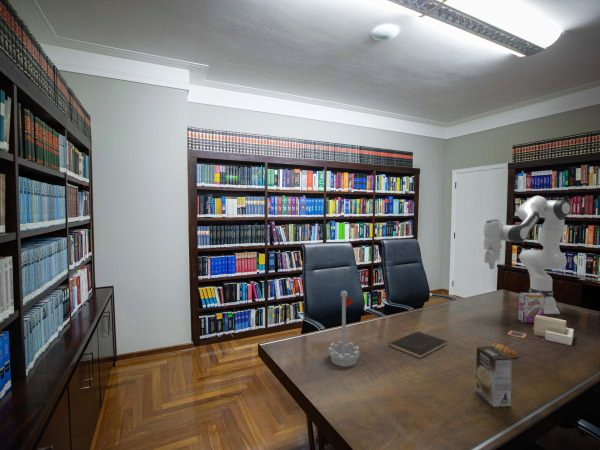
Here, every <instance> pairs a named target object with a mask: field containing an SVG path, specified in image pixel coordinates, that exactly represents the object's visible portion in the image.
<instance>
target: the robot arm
mask: <svg viewBox="0 0 600 450" xmlns="http://www.w3.org/2000/svg"><path fill="white" fill-rule="evenodd" d="M571 208H572V207H571V205H570V203H569V202H568V201H566V200H563V199H558V200H554V199H552V200H550V199H549V200H548V199H546V198H545V197H543V196H542V195H541V196H540V195H534V196H532V197H531V198H528V199H527V200H526V201H524V202H523V203H522V204H521V205H520V206H519V207H518V208H517V210H516V213H517V214H516V215H517V217H518V218H519V219H520V220H521V221H523V222H521V224H517V225H511V224H504V223H503V222H501V220H499V219H489V220H486V221H485V222H484V227H483V235H484V239H483V249H484V250H485V251H484V263H486V264H489V270H494V269H495V265H496V264H495V263H496V262H497V261H499V260H500V256H501V250H502V241H504V242H512V243H513V242H514V243H519V244H520V243H522V242H524V241H526V239H527V238H528V235H529V234H530V232H531V231H532V230H533V228H534V227H535V226H536V224H537V223H538V222H539V220H540V218H543V219H544V222H543V223H542V226H541V228H540V231H539V233H538V236H537V242H538V243H539V244H540V245H541V246H542V247H543V248H542V250H539V249H538V250H537V249H524V250H522V251H521V252H520V254H519V261H520V263H521V264H522V265H523V266H525V267H526V269H527V271H528V274H529V280H530V282H529V283H530V285H529V286H530V287H529V289H528V293H539V294H542V295H545V300H544V315H560V314H561V313H560V311H559V309H558V306H557V304H556V299H555V298H554V297H553V296H554V290H553V278H552V276H551V275H549V274H548V273H547V272H546V271H545V269H548V270H562V269H564V268H565V267H566V266H567V262H568V261H567V258H566V256H565V255H564V254H563V252H561V249H560V243H561V239H562V235H563V234H564V233H563V232H564V229H565V219H566V218H567V216H568V215H569V214H570V212H571Z"/></svg>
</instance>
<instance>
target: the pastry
mask: <svg viewBox="0 0 600 450" xmlns="http://www.w3.org/2000/svg"><path fill="white" fill-rule="evenodd" d="M491 346H494V347H495V348H497V349H498V350H500V351H501V352H503V353H504V354H506V355H508V356H509V357H511V358H512V359H516V358H517V357H518V352H517V351H516V350H514V349H512V348H510V347H508V346H506V345H505V344H501V343H497V342H494V343H493V344H492V345H491Z"/></svg>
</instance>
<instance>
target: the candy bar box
mask: <svg viewBox="0 0 600 450" xmlns="http://www.w3.org/2000/svg"><path fill="white" fill-rule="evenodd" d="M518 296H519V297H518V317H517V318H518V321H520V322H521V323H526V324H527V323H528V324H529V323H530V324H531V323H532V324H534V318H535V316H536V315H539V316H545V314H544V300H545V295H542V294H539V293H529V292H519V295H518Z"/></svg>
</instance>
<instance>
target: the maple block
mask: <svg viewBox="0 0 600 450" xmlns="http://www.w3.org/2000/svg"><path fill="white" fill-rule="evenodd" d="M533 324H534V325H533V327H534V329H533V335H534V336H538V337H543V338H545V334H546V331H550V332H554V333H559V334H564V335H566V328H567V320H564V319H560V318H555V317H549V316H545V315H544V316H539V315H536V316H535V318H534V323H533Z"/></svg>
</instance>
